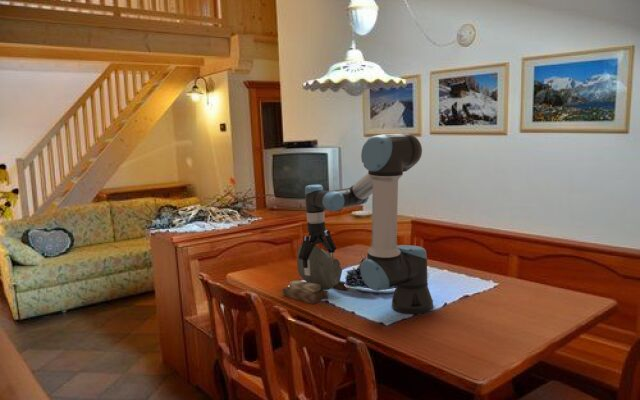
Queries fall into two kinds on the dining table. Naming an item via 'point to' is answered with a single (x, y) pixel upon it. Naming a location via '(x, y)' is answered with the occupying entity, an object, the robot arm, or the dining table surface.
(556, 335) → the dining table surface
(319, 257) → the rock
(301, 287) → the offcut stack
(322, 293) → the walnut rack
